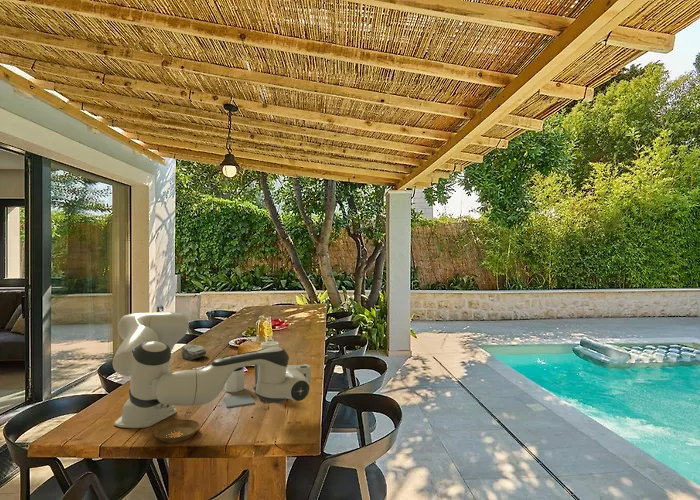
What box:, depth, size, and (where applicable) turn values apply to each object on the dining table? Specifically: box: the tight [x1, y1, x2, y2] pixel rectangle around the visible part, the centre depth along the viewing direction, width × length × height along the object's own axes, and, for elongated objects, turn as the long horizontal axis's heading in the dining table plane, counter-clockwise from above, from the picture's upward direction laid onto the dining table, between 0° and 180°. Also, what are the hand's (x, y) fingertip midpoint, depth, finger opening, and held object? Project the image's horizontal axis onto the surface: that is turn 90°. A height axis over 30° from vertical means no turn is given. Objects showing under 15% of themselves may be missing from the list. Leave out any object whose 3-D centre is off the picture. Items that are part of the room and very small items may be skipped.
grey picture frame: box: [253, 364, 259, 385], centre depth 189 cm, size 12×12×1 cm
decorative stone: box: [181, 343, 207, 361], centre depth 243 cm, size 15×14×10 cm
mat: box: [223, 393, 256, 409], centre depth 174 cm, size 11×11×1 cm
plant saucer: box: [153, 418, 201, 443], centre depth 142 cm, size 15×15×3 cm
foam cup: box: [260, 341, 280, 350], centre depth 225 cm, size 10×9×13 cm
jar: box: [223, 367, 245, 393], centre depth 189 cm, size 9×8×12 cm
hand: (280, 367), depth 169 cm, fingers open, 8 cm apart
